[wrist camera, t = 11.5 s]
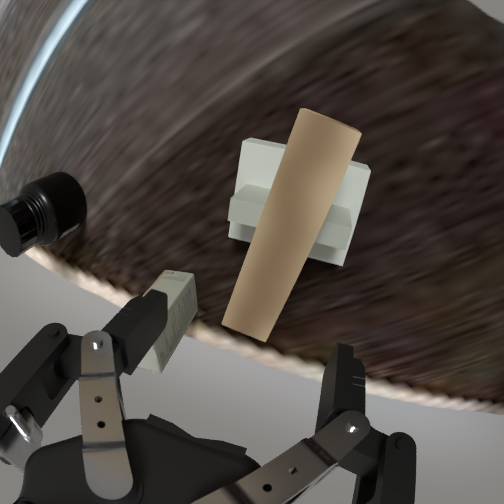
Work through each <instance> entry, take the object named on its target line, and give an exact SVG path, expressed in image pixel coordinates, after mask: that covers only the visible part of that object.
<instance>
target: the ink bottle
mask: <svg viewBox="0 0 504 504" xmlns="http://www.w3.org/2000/svg"><path fill="white" fill-rule="evenodd" d="M84 216H85V198H84V194H83V191H82V189H81V187H80V185H79V183H78V182H77V181H76V180H75V179H74V178H73V177H72V176H71V175H69V174H67V173H64V172H56V173H53V174H51V175H48V176H45V177H43V178H40V179H38V180H36V181H33V182H31V183H28V184H27V185H25V186H24V187H23V188H22V189H21V191H20V193H19V195H18V197H16V198H15V199H12V200H10V201H8V202H6V203H4V204H2V205H0V246H1V247H2V248H3V250H4V251H5V252H6V253H7V254H8V255H10V256H11V257H18V256H19V255H21V254H22V253H24V252H25V251H27V250H29V249H30V248H32V247H33V246H34V245H36V244H39V245H42V246H47V245H50V244H52V243H54V242H55V241H57V240H59V239H60V238H62V237H63V236H65V235H67V234H68V233H70V232H71V231H73V230H75V229H76V228H78V227H79V226H80V225H81V223H82V222H83V219H84Z"/></svg>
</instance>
